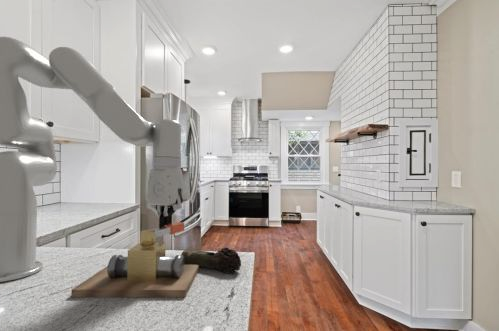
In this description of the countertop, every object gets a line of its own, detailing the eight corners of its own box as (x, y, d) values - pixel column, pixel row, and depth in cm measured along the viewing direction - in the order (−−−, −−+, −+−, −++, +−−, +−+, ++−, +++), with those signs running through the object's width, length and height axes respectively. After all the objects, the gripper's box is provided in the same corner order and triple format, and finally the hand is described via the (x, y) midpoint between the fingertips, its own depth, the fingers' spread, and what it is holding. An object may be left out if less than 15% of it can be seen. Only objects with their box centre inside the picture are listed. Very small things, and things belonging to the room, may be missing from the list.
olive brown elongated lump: (179, 267, 72) (179, 246, 72) (194, 260, 78) (194, 241, 79) (235, 277, 65) (235, 254, 65) (246, 268, 71) (246, 248, 71)
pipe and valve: (105, 283, 58) (105, 250, 58) (120, 271, 65) (120, 242, 65) (177, 283, 58) (177, 250, 59) (184, 271, 65) (185, 242, 65)
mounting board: (71, 297, 54) (71, 289, 54) (109, 270, 69) (109, 264, 69) (185, 297, 54) (185, 289, 54) (198, 270, 69) (199, 264, 69)
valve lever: (147, 247, 60) (147, 232, 60) (137, 245, 61) (137, 231, 61) (185, 234, 72) (185, 222, 72) (176, 233, 73) (176, 221, 74)
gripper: (137, 164, 73) (136, 229, 72) (176, 163, 65) (175, 235, 65) (158, 164, 79) (157, 224, 79) (196, 164, 72) (195, 230, 71)
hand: (165, 229), depth 72 cm, fingers closed
